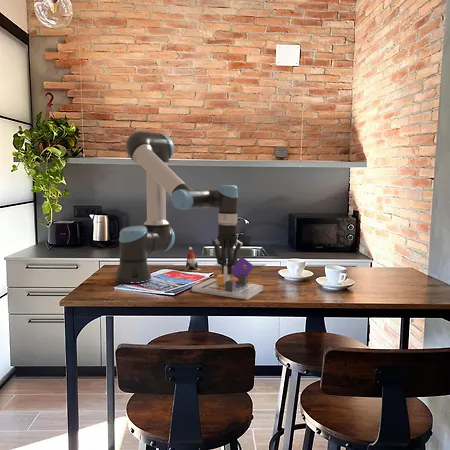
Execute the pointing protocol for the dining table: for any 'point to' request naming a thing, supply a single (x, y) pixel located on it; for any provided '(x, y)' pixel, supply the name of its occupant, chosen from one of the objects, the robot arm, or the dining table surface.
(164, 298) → the dining table surface
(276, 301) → the dining table surface
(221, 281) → the handle
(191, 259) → the figurine
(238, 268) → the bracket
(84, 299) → the dining table surface
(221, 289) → the panel
